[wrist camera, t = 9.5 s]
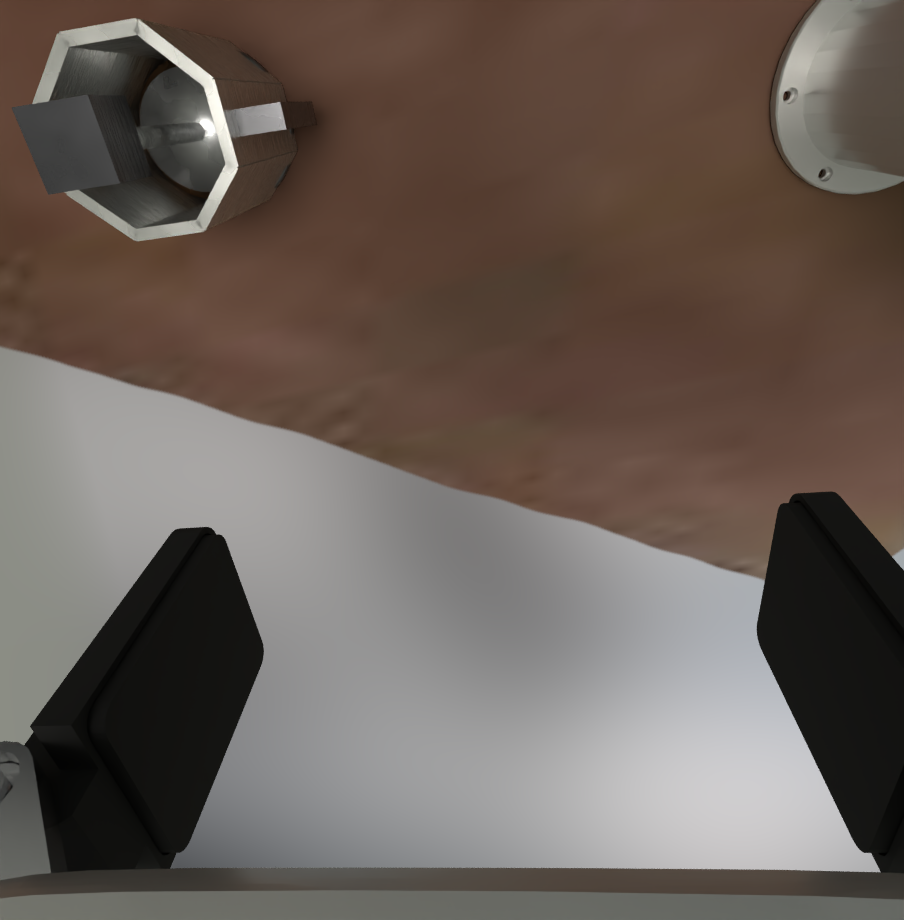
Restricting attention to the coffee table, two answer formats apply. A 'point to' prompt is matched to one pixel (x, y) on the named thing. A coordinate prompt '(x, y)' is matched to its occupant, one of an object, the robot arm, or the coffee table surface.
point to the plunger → (125, 137)
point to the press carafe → (231, 104)
